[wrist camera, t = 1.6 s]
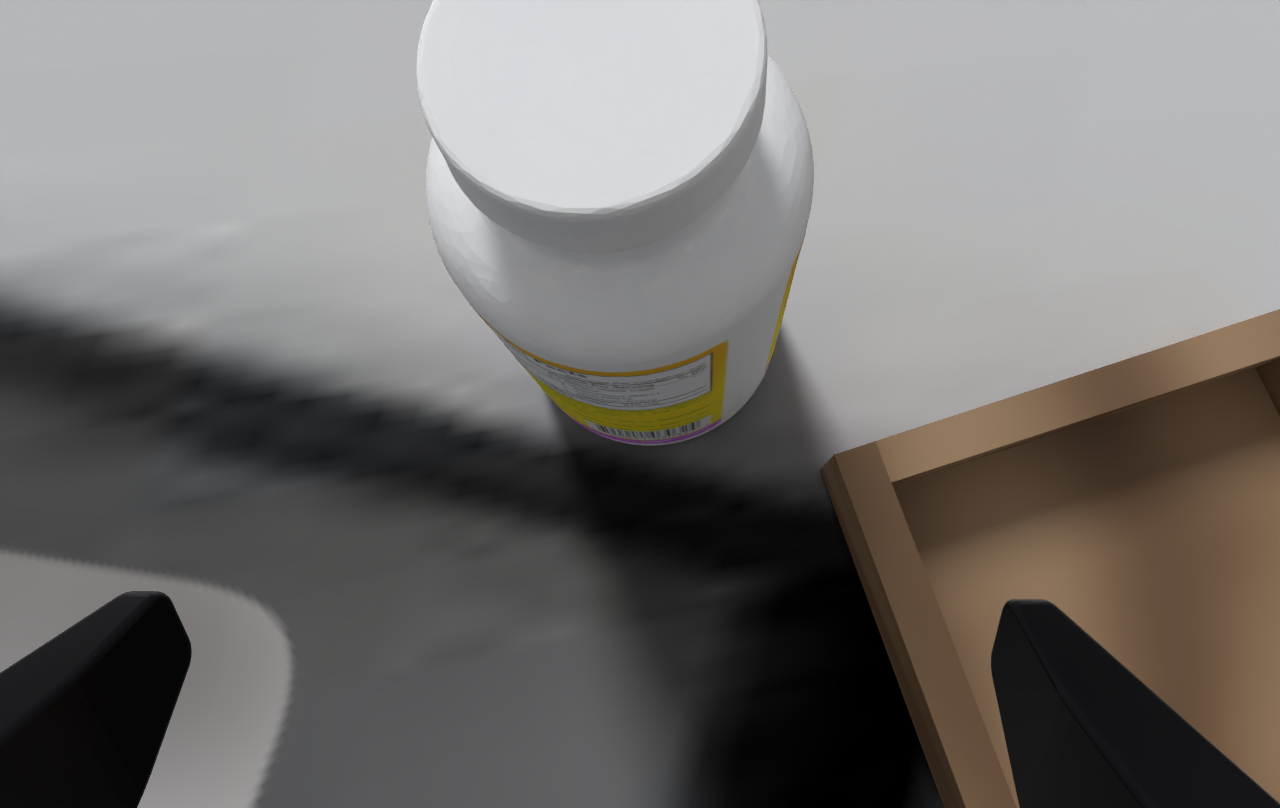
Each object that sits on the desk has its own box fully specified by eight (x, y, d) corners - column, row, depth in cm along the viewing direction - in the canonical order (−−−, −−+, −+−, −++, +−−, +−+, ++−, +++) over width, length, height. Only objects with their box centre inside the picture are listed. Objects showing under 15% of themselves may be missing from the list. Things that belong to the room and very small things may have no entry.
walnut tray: (1001, 963, 20) (1043, 1016, 18) (819, 470, 23) (834, 454, 20) (1500, 802, 20) (1615, 832, 18) (1260, 326, 23) (1329, 293, 20)
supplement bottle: (655, 171, 25) (605, -252, 12) (826, 330, 24) (963, 37, 11) (481, 331, 24) (244, 55, 12) (646, 504, 23) (576, 400, 10)
